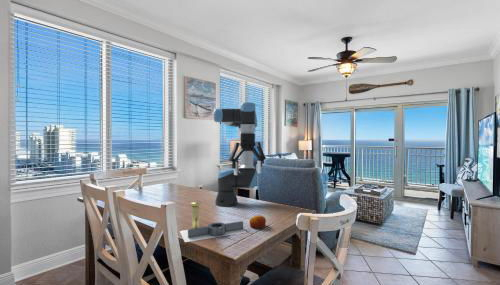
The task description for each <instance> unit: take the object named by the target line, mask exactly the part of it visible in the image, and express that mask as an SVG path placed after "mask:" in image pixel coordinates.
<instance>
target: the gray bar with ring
mask: <svg viewBox="0 0 500 285" xmlns="http://www.w3.org/2000/svg"><path fill="white" fill-rule="evenodd" d="M187 230H188V238H192V237H198V236H205V235H209V236H215V238H218V237H217V236H221V237H223V236H222V235H224V234H225V233H226V232H230V231H236V230H244V222H243V221H236V222H234V221H233V222H228V223H224V222H211V223H208V224H207V226H199V228H192V227H191V228H187Z"/></svg>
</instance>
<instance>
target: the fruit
mask: <svg viewBox="0 0 500 285" xmlns="http://www.w3.org/2000/svg"><path fill="white" fill-rule="evenodd" d="M266 224H267V219H266V217H265V216H263V215H262V214H257V215H254V216H251V218H250V219H249V226H250V228H251V229H254V230H262V229H265V227H266Z"/></svg>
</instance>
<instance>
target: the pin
mask: <svg viewBox="0 0 500 285" xmlns="http://www.w3.org/2000/svg"><path fill="white" fill-rule="evenodd" d="M190 206H191V229H192V228H199V227H200V206H201V202H200V201H190Z"/></svg>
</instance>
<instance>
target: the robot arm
mask: <svg viewBox="0 0 500 285" xmlns="http://www.w3.org/2000/svg"><path fill="white" fill-rule="evenodd" d="M213 120H214V122H215V123H222V124H223V125H225V126H228V127H229V126H230V127H235V128H236V127H237V128H238V130H239V131H240V136H239V137H240V138H239V139H240V142H239V141H238V142H236V141H235V142H234V147H233V148H232V151H231V152H230V155H229V158H228V161H229V162H231V164H232V166H231V168H225V169H220V170H219V171H218V173H217V193H216V194H217V195H216V197H215V200H214V203H215V204H214V205H215V206H218V207H233V206H236V205H238V202H239V201H238V197H237V193H236V189H255V188H256V187H257V182H258V174H259V175H260V174H262V167H263V161H264V160H266V159H267V157H266V156H265V153H264V151H263V149H262V148H263V147H262V146H261V144H262V143H261V142H260V141H257V142H256V133H255V132H256V128H257V127H258V119H257V112H256V103H255V102H249V101H248V102H247V101H246V102H242V103H241V104H240V108H214V110H213ZM239 147H240V148H239ZM238 149H239V150H238ZM254 156H255V158H257V162H256V167H255V166H254ZM239 158H240V165H239V167H238V162H237V161H238V160H239ZM256 168H257V170H256Z"/></svg>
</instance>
